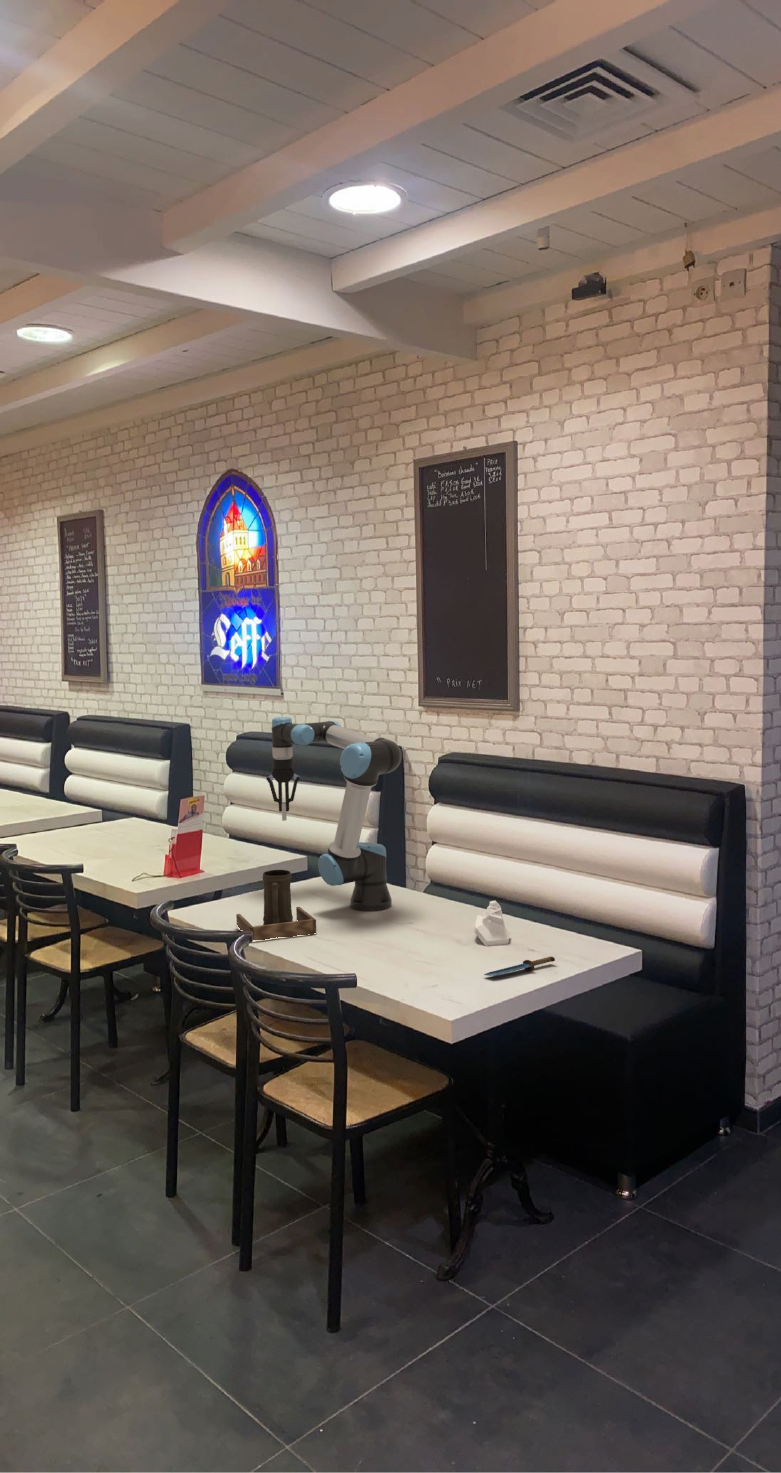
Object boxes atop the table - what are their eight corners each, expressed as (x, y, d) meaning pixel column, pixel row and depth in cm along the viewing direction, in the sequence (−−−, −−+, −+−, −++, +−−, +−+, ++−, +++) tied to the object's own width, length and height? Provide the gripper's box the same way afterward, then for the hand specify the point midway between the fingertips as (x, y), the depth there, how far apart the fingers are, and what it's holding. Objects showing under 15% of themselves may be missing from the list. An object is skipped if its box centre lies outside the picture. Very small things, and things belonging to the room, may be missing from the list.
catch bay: (299, 920, 360) (299, 906, 360) (316, 934, 343) (316, 919, 343) (236, 928, 352) (236, 914, 351) (250, 942, 335) (250, 927, 334)
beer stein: (261, 923, 357) (260, 869, 354) (292, 921, 359) (290, 867, 356) (264, 939, 342) (263, 882, 339) (296, 936, 344) (295, 880, 341)
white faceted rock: (510, 938, 341) (520, 899, 337) (504, 955, 326) (515, 915, 323) (474, 927, 343) (484, 888, 340) (466, 943, 329) (477, 903, 326)
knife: (492, 971, 293) (481, 969, 297) (493, 982, 293) (483, 979, 297) (558, 954, 305) (547, 952, 309) (559, 964, 305) (549, 962, 309)
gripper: (300, 756, 394) (302, 817, 396) (266, 757, 394) (267, 818, 396) (299, 758, 387) (301, 821, 389) (264, 759, 386) (266, 822, 388)
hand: (284, 819), depth 392 cm, fingers closed
